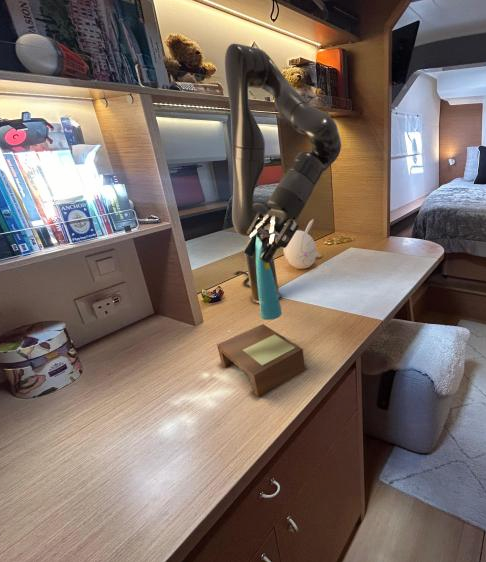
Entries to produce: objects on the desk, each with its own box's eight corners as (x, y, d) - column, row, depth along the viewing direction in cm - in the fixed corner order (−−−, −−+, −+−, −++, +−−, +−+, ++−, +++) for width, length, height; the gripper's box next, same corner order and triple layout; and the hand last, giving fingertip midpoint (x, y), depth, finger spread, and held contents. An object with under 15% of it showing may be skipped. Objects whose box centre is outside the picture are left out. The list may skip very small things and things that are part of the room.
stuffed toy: (295, 240, 130) (327, 217, 149) (268, 240, 136) (302, 218, 155) (307, 283, 139) (336, 256, 158) (281, 280, 145) (312, 255, 164)
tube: (285, 318, 80) (273, 241, 73) (265, 324, 78) (251, 245, 71) (276, 306, 86) (264, 233, 79) (257, 312, 84) (243, 237, 77)
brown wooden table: (221, 364, 87) (216, 343, 84) (266, 342, 95) (262, 323, 93) (258, 397, 75) (253, 374, 72) (305, 369, 83) (302, 348, 81)
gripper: (262, 183, 80) (226, 243, 77) (299, 187, 71) (259, 255, 68) (284, 202, 86) (251, 259, 83) (321, 208, 76) (285, 272, 73)
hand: (255, 257), depth 75 cm, fingers closed on tube, 6 cm apart
